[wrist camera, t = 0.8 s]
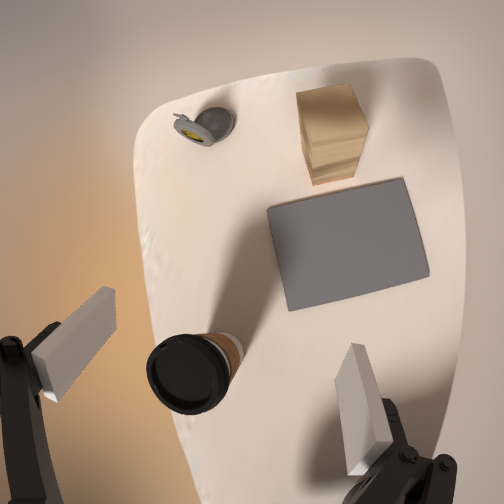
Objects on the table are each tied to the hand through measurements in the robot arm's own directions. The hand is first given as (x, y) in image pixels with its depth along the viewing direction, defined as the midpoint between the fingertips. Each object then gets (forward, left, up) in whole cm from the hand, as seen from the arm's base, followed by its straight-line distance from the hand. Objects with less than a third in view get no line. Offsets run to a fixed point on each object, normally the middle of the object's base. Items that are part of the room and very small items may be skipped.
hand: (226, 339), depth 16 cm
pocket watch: (+29, +5, -26) cm, 39 cm away
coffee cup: (-4, +9, -26) cm, 27 cm away
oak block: (+19, -11, -25) cm, 34 cm away
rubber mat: (+7, -11, -25) cm, 29 cm away
